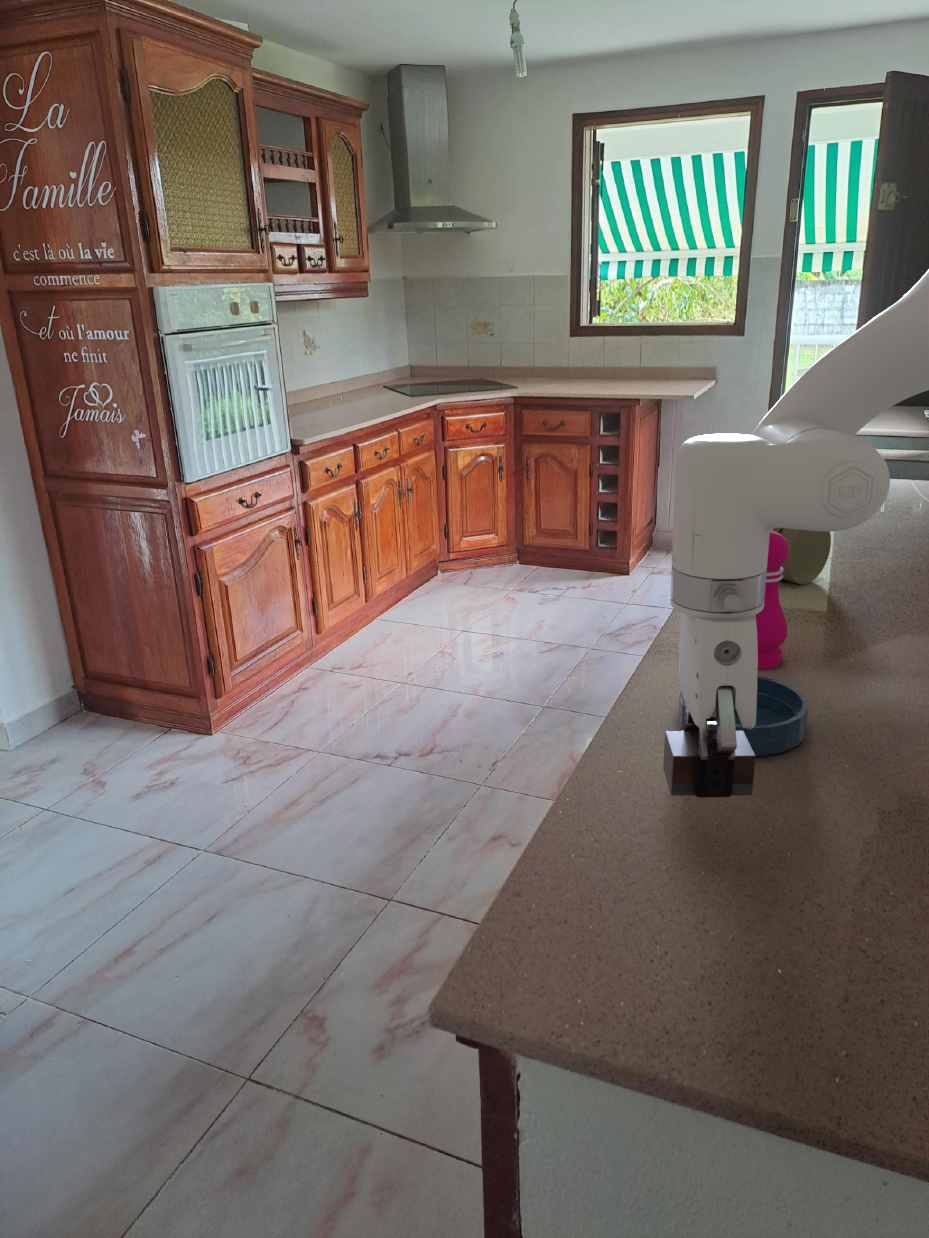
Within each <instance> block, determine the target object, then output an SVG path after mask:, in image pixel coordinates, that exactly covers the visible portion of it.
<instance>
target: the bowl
mask: <svg viewBox="0 0 929 1238" xmlns="http://www.w3.org/2000/svg"><path fill="white" fill-rule="evenodd" d="M808 708H809V701H808V700H807V699H806V697H805V696H804V694H803V693H802V692H800V691H799V690H798V689H796V688H794V687H793V686H792V685H790V684H788V683H785V682H782V681H779V680H777V679H773V678H769V677H764V676H760V675H757V708H756V724H755V726H754V727H753V728H752V729H746V728H743V727H742V725H741V723H740V722H739V720H738V718H737V716H736V714H735V727H736V731H744V733H745V735H746V737H747V739H748V741H749V744H750V746H751V748H752V750H753V752H754V754H755V756H756V757H765V756H771V755H772V756H773V755H777V754H781V753H783V752H786V751H788V750H790V749H792V748H794V747H796V746H798V745H799V744H800V743H801V742H802V741H803V740H804V739H805V738H806V734H807V723H808V721H807V720H808V712H809V711H808V710H809V709H808ZM685 712H686V702H685V700H684V697H683V695H682V692H681V691H680V693H679V695H678V715H677V717H678V718H677V719H678V720H677V721H678V726H679V728H680V731H684V725H692V724H686V719H685Z"/></svg>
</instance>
